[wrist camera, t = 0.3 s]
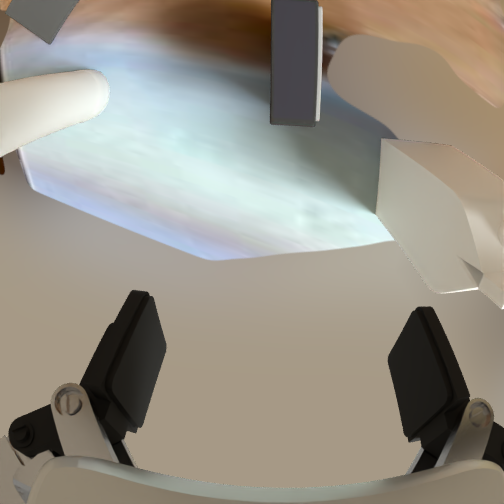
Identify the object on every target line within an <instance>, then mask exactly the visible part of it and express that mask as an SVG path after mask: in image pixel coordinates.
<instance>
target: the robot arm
mask: <svg viewBox="0 0 504 504" xmlns="http://www.w3.org/2000/svg"><path fill="white" fill-rule="evenodd" d="M165 353H166V341H165V338H164V335H163V331H162V328H161V324H160V320H159V317H158V313H157V309H156V305H155V302H154V298H153V297H152V296H150V295H149V293H148V292H145V291H137V290H132V291H131V292H130V294H129V295H128V297H127V299H126V301H125V303H124V305H123V306H122V308H121V310H120V312H119V314H118V316H117V318H116V320H115V321H114V323H111V324H110V325H109V326H108V328H107V329H106V331H105V333H104V335H103V337H102V339H101V341H100V343H99V345H98V347H97V349H96V351H95V353H94V355H93V357H92V359H91V361H90V363H89V365H88V367H87V369H86V372H85V374H84V376H83V378H82V380H81V382H80V384H79V385H78V384H76V383H67V384H63V385H61V386H60V387H58V388H57V389H56V390H55V392H54V393H53V395H52V398H51V404H49V405H47V406H45V407H42V408H40V409H38V410H35V411H33V412H31V413H28V414H26V415H23V416H21V417H19V418H17V419H15V420H14V421H13V422H12V424H11V426H10V428H9V436H8V437H6V436H3V437H2V438H1V439H0V504H504V428H503V427H502V426H500V425H499V424H497V423H495V422H494V413H493V409H492V407H491V406H490V404H489V403H488V402H487V401H486V400H484V399H481V398H475V399H472V400H471V401H470V399H469V397H470V394H469V391H468V388H467V386H466V383H465V380H464V377H463V375H462V372H461V370H460V367H459V364H458V362H457V360H456V357H455V355H454V352H453V350H452V348H451V345H450V343H449V341H448V339H447V336H446V334H445V332H444V330H443V327H442V325H441V323H440V321H439V319H438V317H437V315H436V313H435V311H434V309H433V308H432V307H417V308H416V310H415V311H413V312H412V313H411V315H410V317H409V319H408V321H407V323H406V325H405V326H404V328H403V330H402V332H401V334H400V336H399V338H398V340H397V341H396V343H395V345H394V347H393V348H392V350H391V352H390V354H389V356H388V365H389V369H390V372H391V377H392V381H393V384H394V389H395V393H396V398H397V402H398V407H399V411H400V416H401V421H402V426H403V431H404V435H405V436H406V437H408V442H415V441H419V440H420V441H421V448H420V450H419V452H418V454H417V455H416V457H415V459H414V461H413V463H412V464H411V466H410V468H409V469H408V471H407V473H406V474H405V475H402V476H398V477H393V478H388V479H383V480H377V481H371V482H364V483H357V484H349V485H339V486H328V487H311V488H260V487H245V486H233V485H224V484H215V483H208V482H201V481H195V480H189V479H184V478H179V477H174V476H169V475H164V474H160V473H155V472H151V471H147V470H143V469H139V468H138V467H137V465H136V463H135V461H134V459H133V457H132V455H131V454H130V451H129V449H128V447H127V445H126V443H125V441H124V438H125V435H126V432H127V431H130V432H133V433H136V432H137V428H138V427H139V428H141V427H142V425H143V423H144V420H145V416H146V413H147V410H148V406H149V403H150V400H151V396H152V393H153V390H154V387H155V384H156V381H157V377H158V374H159V371H160V368H161V365H162V362H163V359H164V356H165Z"/></svg>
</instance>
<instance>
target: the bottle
mask: <svg viewBox="0 0 504 504" xmlns="http://www.w3.org/2000/svg"><path fill="white" fill-rule="evenodd" d="M109 96H110V85H109V83H108V80H107V78H106V77H105V76H104V75H103V74H102V73H101V72H99V71H97V70H90V69H87V70H77V71H71V72H62V73H54V74H46V75H40V76H34V77H28V78H23V79H17V80H13V81H8V82H4V83H0V157H2V156H3V155H5V154H7V153H9V152H11V151H13V150H15V149H18V148H20V147H22V146H24V145H26V144H28V143H30V142H33V141H35V140H37V139H39V138H42V137H44V136H47V135H49V134H51V133H54V132H56V131H59V130H62V129H64V128H67V127H69V126H72V125H75V124H78V123H83V122H85V121H88V120H90V119H92V118H94V117H97V116H98V115H99V114H100V113H102V112H103V111H104V109H105V107H106V105H107V104H108V101H109Z"/></svg>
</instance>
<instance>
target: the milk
mask: <svg viewBox="0 0 504 504" xmlns="http://www.w3.org/2000/svg"><path fill="white" fill-rule="evenodd" d="M375 215H376V216H377V217H378V219H379V220H380V221H381V222H382V224H383V225H384V226H385V228H386V229H387V230H388V231H389V233H390V234H391V235H392V237H393V238H394V239H395V241H396V242H397V243H398V245H399V246H400V248H401V249H402V250H403V251H404V253H405V255H406V256H407V257H408V259H409V260H410V262H411V263H412V264H413V266H414V267H415V269H416V270H417V272H418V273H419V275H420V276H421V278H422V279H423V281H424V282H425V284H426V285H427V287H428V288H429V289H430V290H431V291H433V292H435V293H452V292H460V291H468V290H476V289H479V290H480V291H482V292H483V293H484V294H485V295H486V296H487V297H488V298H490V299H491V300H492V301H493V302H494V303H495V304H496V305H497V306H498V307H500V308H501V309H504V181H503V180H502V179H501V178H499V177H498V176H497V175H495V174H494V173H492V172H491V171H490V170H488V169H487V168H486V167H484V166H483V165H481V164H480V163H478V162H477V161H475V160H474V159H472V158H471V157H469V156H468V155H466V154H465V153H463V152H461V151H460V150H458V149H456V148H455V147H453V146H451V145H444V144H437V143H428V142H419V141H409V140H397V139H383V138H381V154H380V170H379V183H378V194H377V204H376V213H375Z"/></svg>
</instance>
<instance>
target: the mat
mask: <svg viewBox="0 0 504 504" xmlns="http://www.w3.org/2000/svg"><path fill="white" fill-rule="evenodd" d="M78 1H79V0H12V1H11V3H10V5H9V7H8V9H7V10H6V12H5V14H7V15H8V16H10V17H11V18H13V19H14V20H16V21H17V22H19V23H20V24H21V25H23V26H24V27H26V28H27V29H29V30H30V31H31V32H33V33H34V34H36V35H37V36H38V37H40V38H41V39H43V40H44V41H45V42H47V43H48V44H51V43H52V41H53V40H54V38H55V36H56V34H57V33H58V31H59V30H60V28H61V26H62V25H63V23H64V22H65V20H66V19H67V17H68V16H69V14H70V13H71V11H72V10H73V8H74V7H75V5H76V4H77V3H78Z"/></svg>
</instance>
